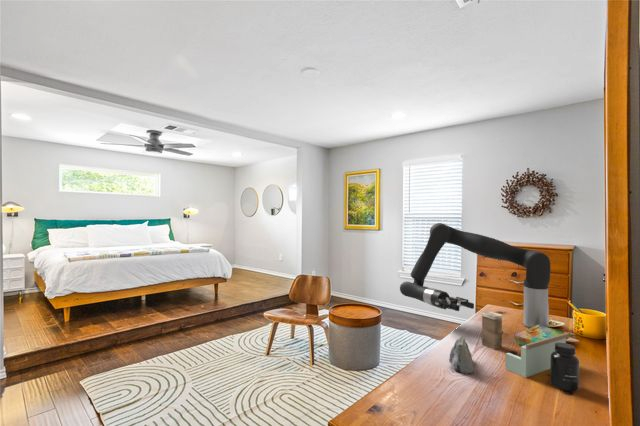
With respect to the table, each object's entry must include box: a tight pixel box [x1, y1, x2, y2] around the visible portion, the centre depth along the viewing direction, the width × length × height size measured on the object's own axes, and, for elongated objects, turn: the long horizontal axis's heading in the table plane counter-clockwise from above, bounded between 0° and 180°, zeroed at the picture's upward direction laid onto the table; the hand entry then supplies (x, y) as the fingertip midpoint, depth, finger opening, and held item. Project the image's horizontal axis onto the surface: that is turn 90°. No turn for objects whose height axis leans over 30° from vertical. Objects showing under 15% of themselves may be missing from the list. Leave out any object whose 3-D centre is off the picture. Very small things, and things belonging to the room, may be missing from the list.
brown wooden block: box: [481, 311, 503, 350], centre depth 128 cm, size 5×5×12 cm
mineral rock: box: [448, 335, 475, 374], centre depth 112 cm, size 13×11×10 cm
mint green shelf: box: [505, 332, 569, 378], centre depth 112 cm, size 22×9×10 cm, turn 117°
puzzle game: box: [513, 325, 572, 346], centre depth 131 cm, size 12×5×20 cm
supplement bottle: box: [549, 342, 580, 393], centre depth 98 cm, size 7×7×12 cm
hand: (466, 307), depth 138 cm, fingers open, 8 cm apart
